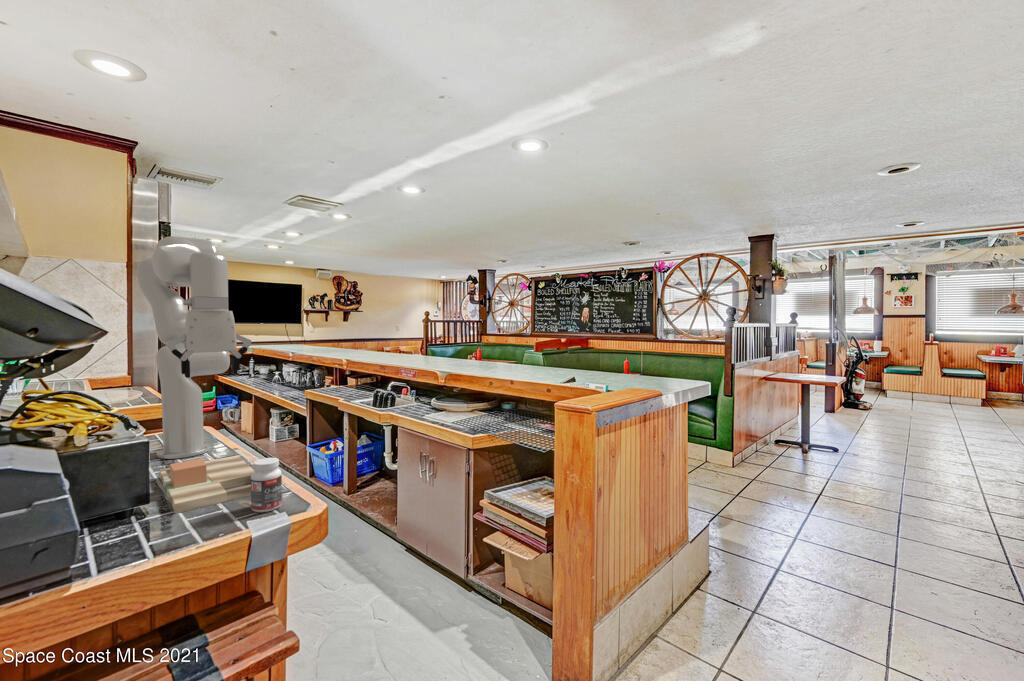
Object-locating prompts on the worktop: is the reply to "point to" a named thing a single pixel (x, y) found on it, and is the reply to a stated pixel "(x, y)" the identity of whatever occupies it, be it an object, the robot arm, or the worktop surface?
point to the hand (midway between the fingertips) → (211, 375)
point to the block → (188, 473)
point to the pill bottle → (266, 485)
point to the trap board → (211, 485)
